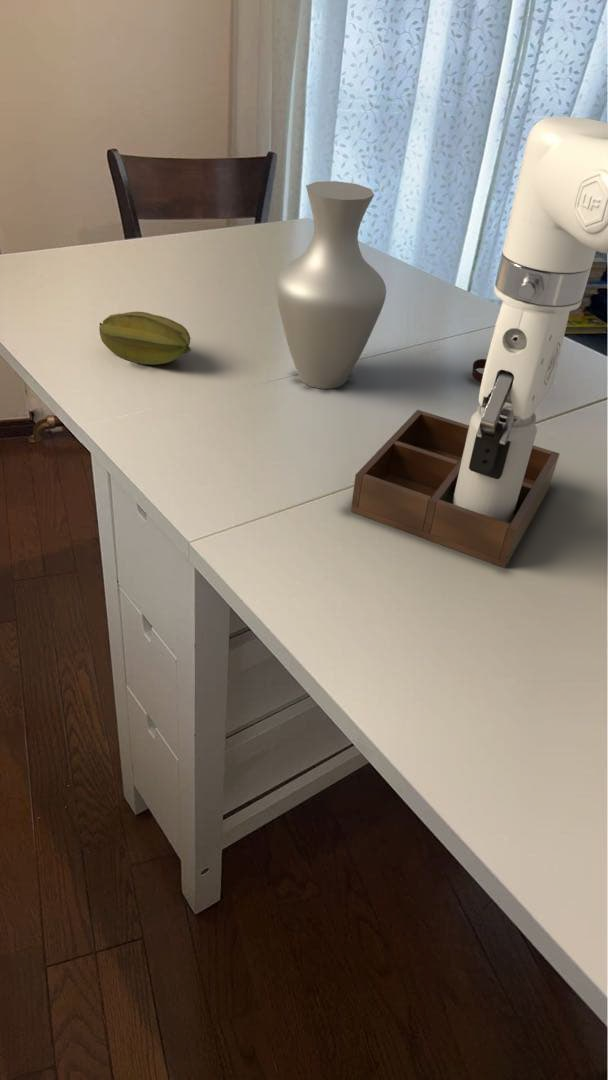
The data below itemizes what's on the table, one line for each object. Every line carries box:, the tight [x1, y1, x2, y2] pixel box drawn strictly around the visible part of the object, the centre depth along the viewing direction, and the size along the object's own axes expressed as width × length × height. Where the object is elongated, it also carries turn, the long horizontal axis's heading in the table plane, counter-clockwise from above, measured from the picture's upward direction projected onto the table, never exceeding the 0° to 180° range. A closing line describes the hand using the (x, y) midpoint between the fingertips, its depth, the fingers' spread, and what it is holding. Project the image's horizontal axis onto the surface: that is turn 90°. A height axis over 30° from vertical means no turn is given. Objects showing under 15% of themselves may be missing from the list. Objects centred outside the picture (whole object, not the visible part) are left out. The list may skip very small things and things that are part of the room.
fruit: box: [98, 311, 192, 366], centre depth 110 cm, size 11×12×7 cm
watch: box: [471, 358, 487, 384], centre depth 113 cm, size 8×5×4 cm, turn 70°
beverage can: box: [453, 402, 538, 523], centre depth 80 cm, size 6×6×12 cm
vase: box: [274, 180, 387, 390], centre depth 104 cm, size 14×14×25 cm
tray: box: [350, 409, 560, 569], centre depth 88 cm, size 17×17×5 cm
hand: (496, 456), depth 80 cm, fingers closed on beverage can, 6 cm apart
